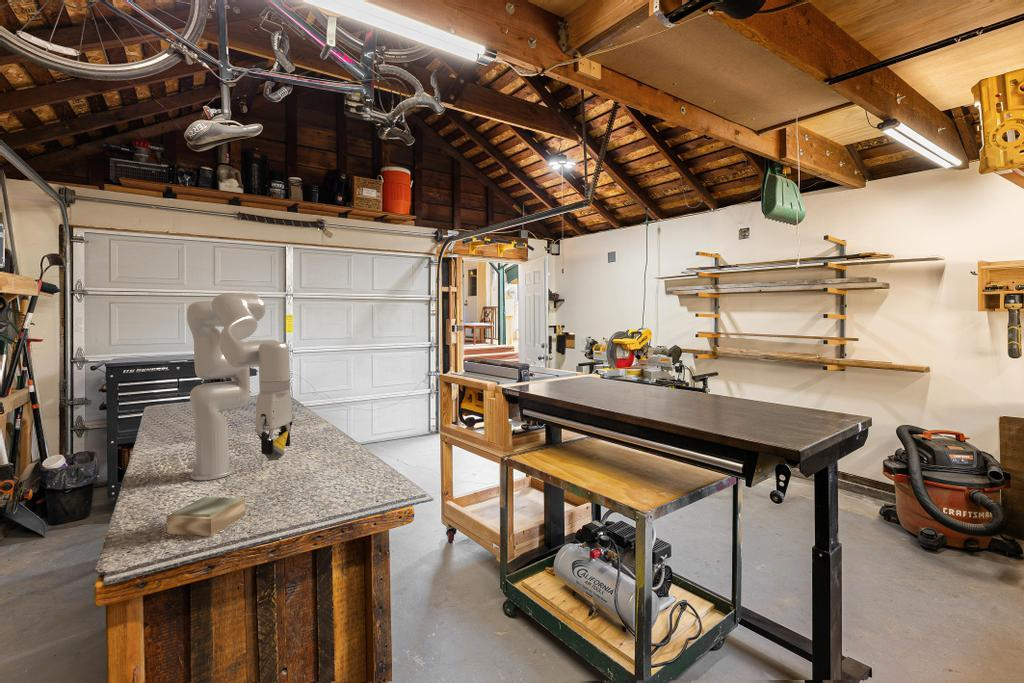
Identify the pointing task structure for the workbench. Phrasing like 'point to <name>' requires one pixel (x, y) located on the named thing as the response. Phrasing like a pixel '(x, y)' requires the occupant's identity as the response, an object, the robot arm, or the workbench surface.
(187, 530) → the base block
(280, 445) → the drill bit
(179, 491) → the workbench surface
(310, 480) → the workbench surface
